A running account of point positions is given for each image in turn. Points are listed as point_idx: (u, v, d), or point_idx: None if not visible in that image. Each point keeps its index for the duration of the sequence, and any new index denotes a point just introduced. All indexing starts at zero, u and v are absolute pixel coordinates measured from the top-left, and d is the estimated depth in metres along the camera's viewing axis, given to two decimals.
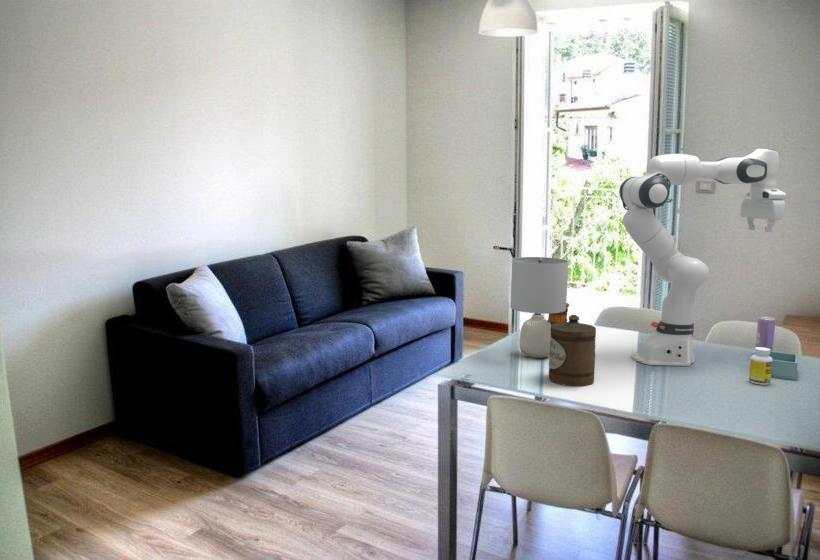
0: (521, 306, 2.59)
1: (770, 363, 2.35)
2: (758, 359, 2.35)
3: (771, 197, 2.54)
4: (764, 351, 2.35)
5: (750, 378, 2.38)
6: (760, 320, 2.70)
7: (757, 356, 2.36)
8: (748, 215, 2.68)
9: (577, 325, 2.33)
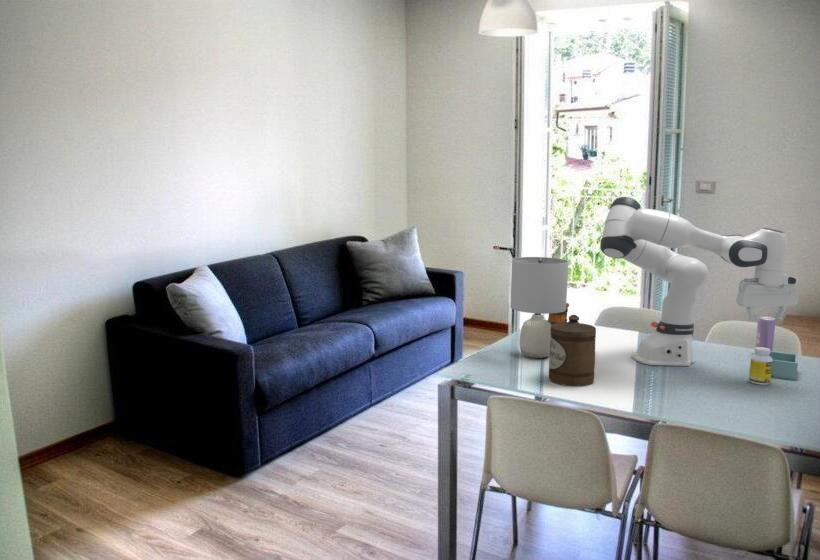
0: (521, 306, 2.59)
1: (770, 363, 2.35)
2: (758, 359, 2.35)
3: None
4: (764, 351, 2.35)
5: (750, 378, 2.38)
6: (760, 320, 2.70)
7: (757, 356, 2.36)
8: (757, 304, 2.32)
9: (577, 325, 2.33)
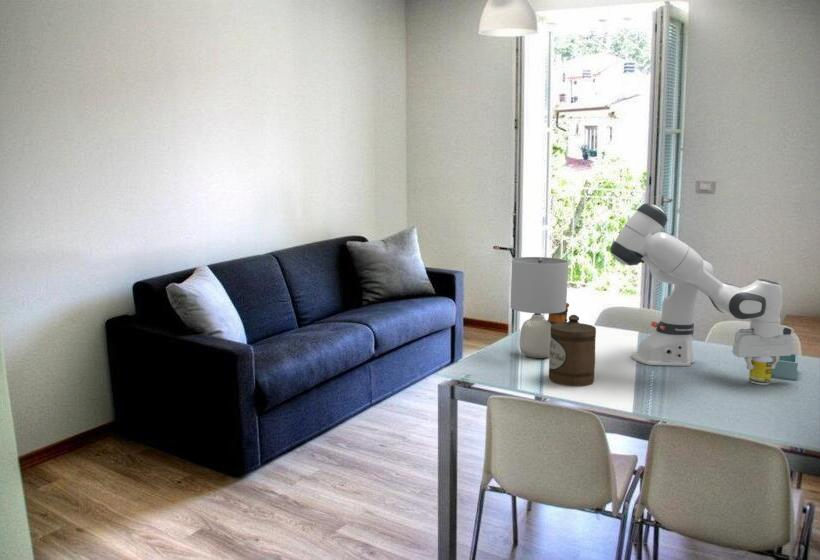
0: (521, 306, 2.59)
1: (770, 363, 2.35)
2: (758, 359, 2.35)
3: None
4: (764, 351, 2.35)
5: (750, 378, 2.38)
6: None
7: None
8: (753, 355, 2.34)
9: (577, 325, 2.33)
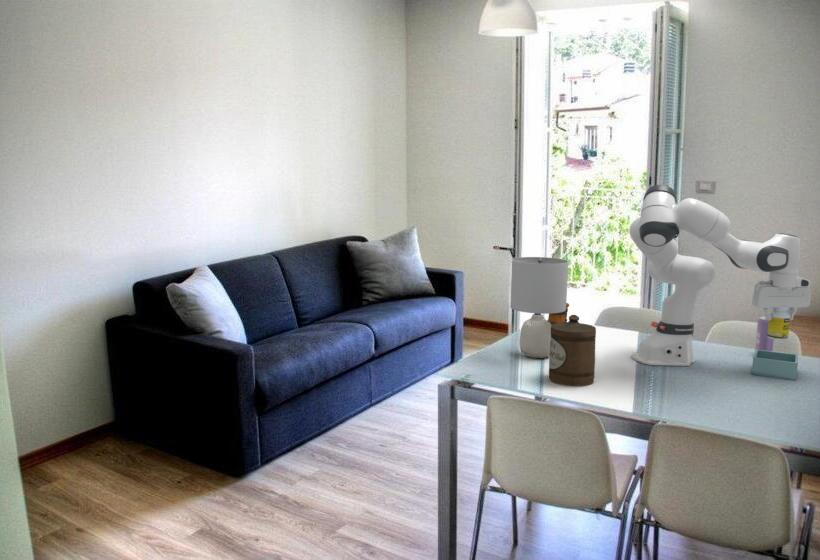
0: (521, 306, 2.59)
1: (788, 319, 2.45)
2: (776, 315, 2.45)
3: None
4: (782, 308, 2.45)
5: (768, 334, 2.48)
6: (760, 320, 2.70)
7: (775, 313, 2.46)
8: (771, 305, 2.44)
9: (577, 325, 2.33)
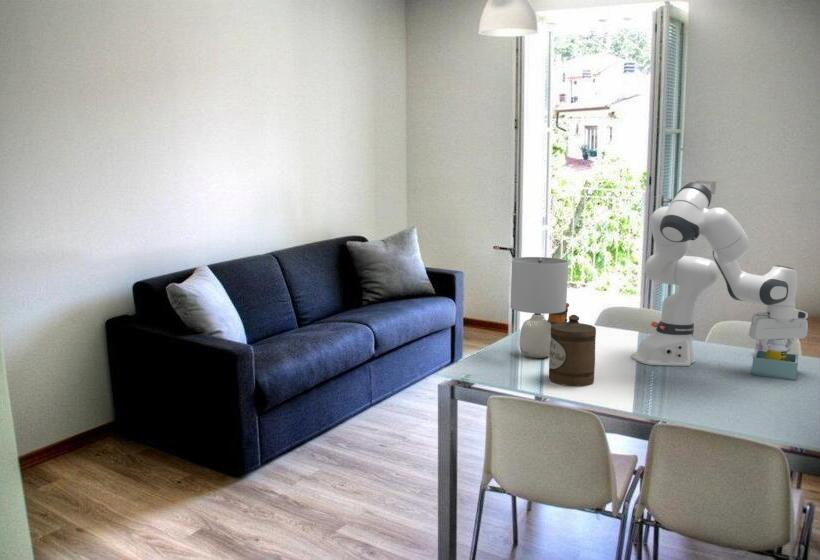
0: (521, 306, 2.59)
1: (785, 352, 2.46)
2: (774, 348, 2.46)
3: None
4: (779, 341, 2.46)
5: None
6: None
7: (772, 345, 2.47)
8: (768, 337, 2.46)
9: (577, 325, 2.33)
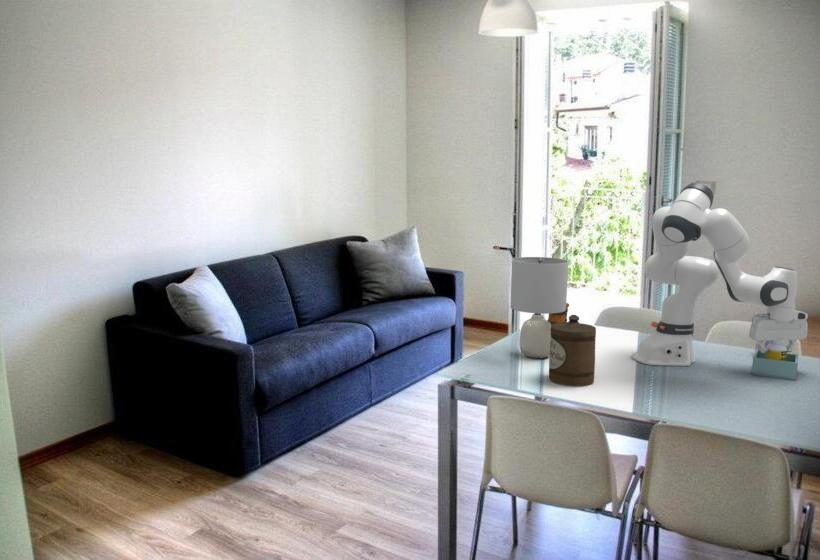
0: (521, 306, 2.59)
1: (785, 352, 2.46)
2: (774, 348, 2.47)
3: None
4: (779, 340, 2.46)
5: None
6: None
7: (772, 345, 2.48)
8: (769, 338, 2.46)
9: (577, 325, 2.33)
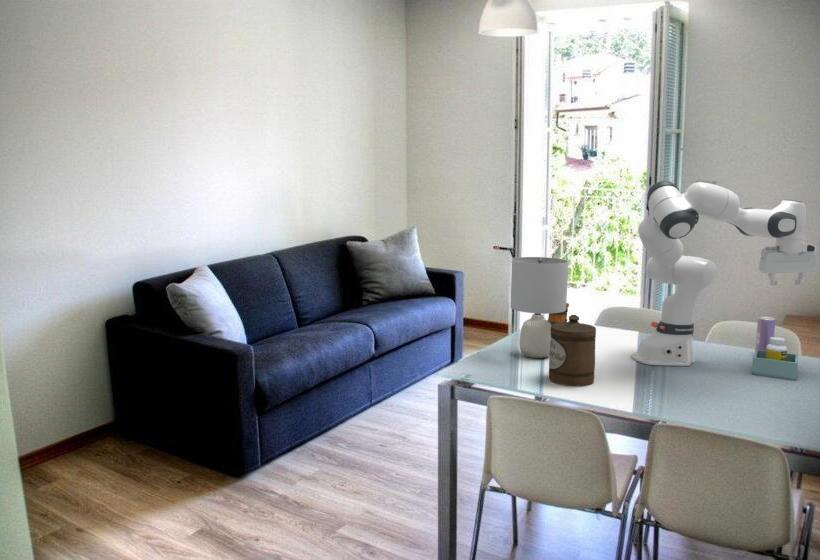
0: (521, 306, 2.59)
1: (785, 352, 2.46)
2: (774, 348, 2.47)
3: None
4: (779, 340, 2.46)
5: None
6: (760, 320, 2.70)
7: (772, 345, 2.48)
8: (778, 270, 2.50)
9: (577, 325, 2.33)
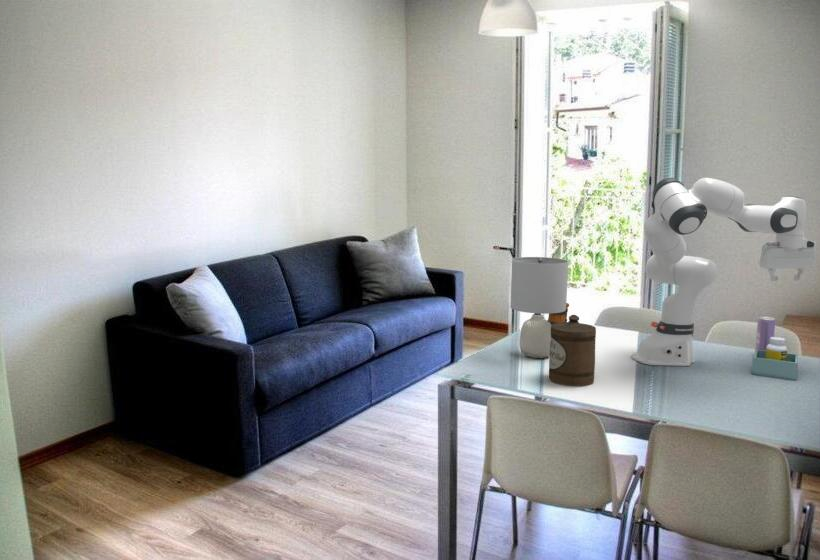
0: (521, 306, 2.59)
1: (785, 352, 2.46)
2: (774, 348, 2.47)
3: None
4: (779, 340, 2.46)
5: None
6: (760, 320, 2.70)
7: (772, 345, 2.48)
8: (778, 266, 2.53)
9: (577, 325, 2.33)
